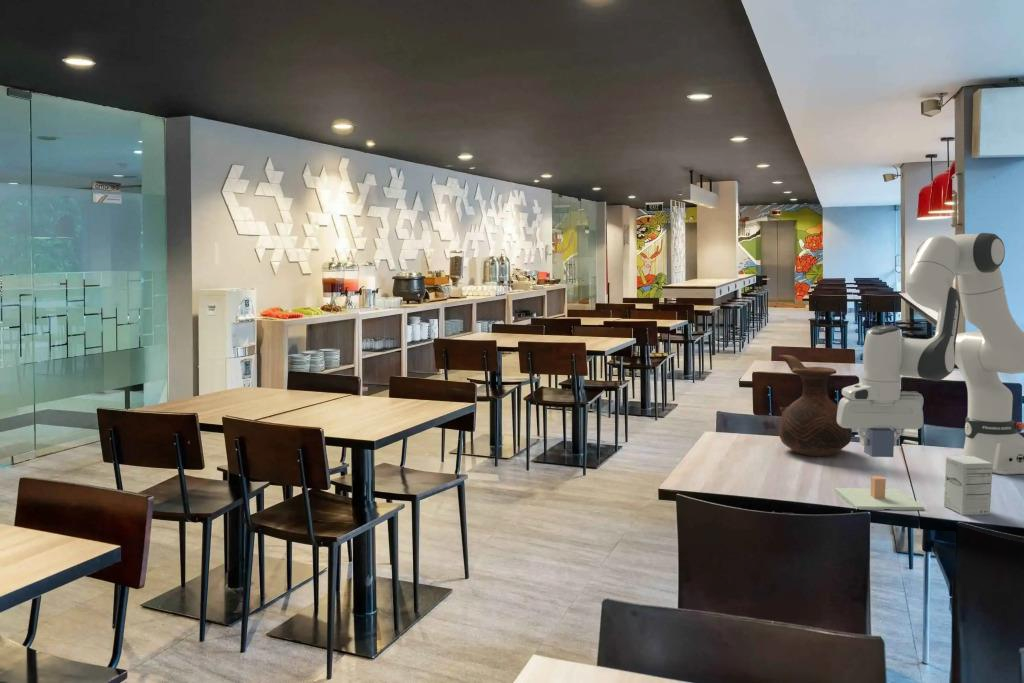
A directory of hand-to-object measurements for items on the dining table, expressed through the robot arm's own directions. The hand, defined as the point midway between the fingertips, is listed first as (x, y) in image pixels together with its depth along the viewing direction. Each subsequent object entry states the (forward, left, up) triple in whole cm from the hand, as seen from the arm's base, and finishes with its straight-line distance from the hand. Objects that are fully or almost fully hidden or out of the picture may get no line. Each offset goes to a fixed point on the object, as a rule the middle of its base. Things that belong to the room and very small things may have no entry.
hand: (878, 445), depth 204 cm
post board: (0, 0, -14) cm, 14 cm away
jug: (0, -52, -14) cm, 54 cm away
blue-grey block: (0, 0, -2) cm, 2 cm away
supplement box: (-18, +8, -14) cm, 24 cm away
